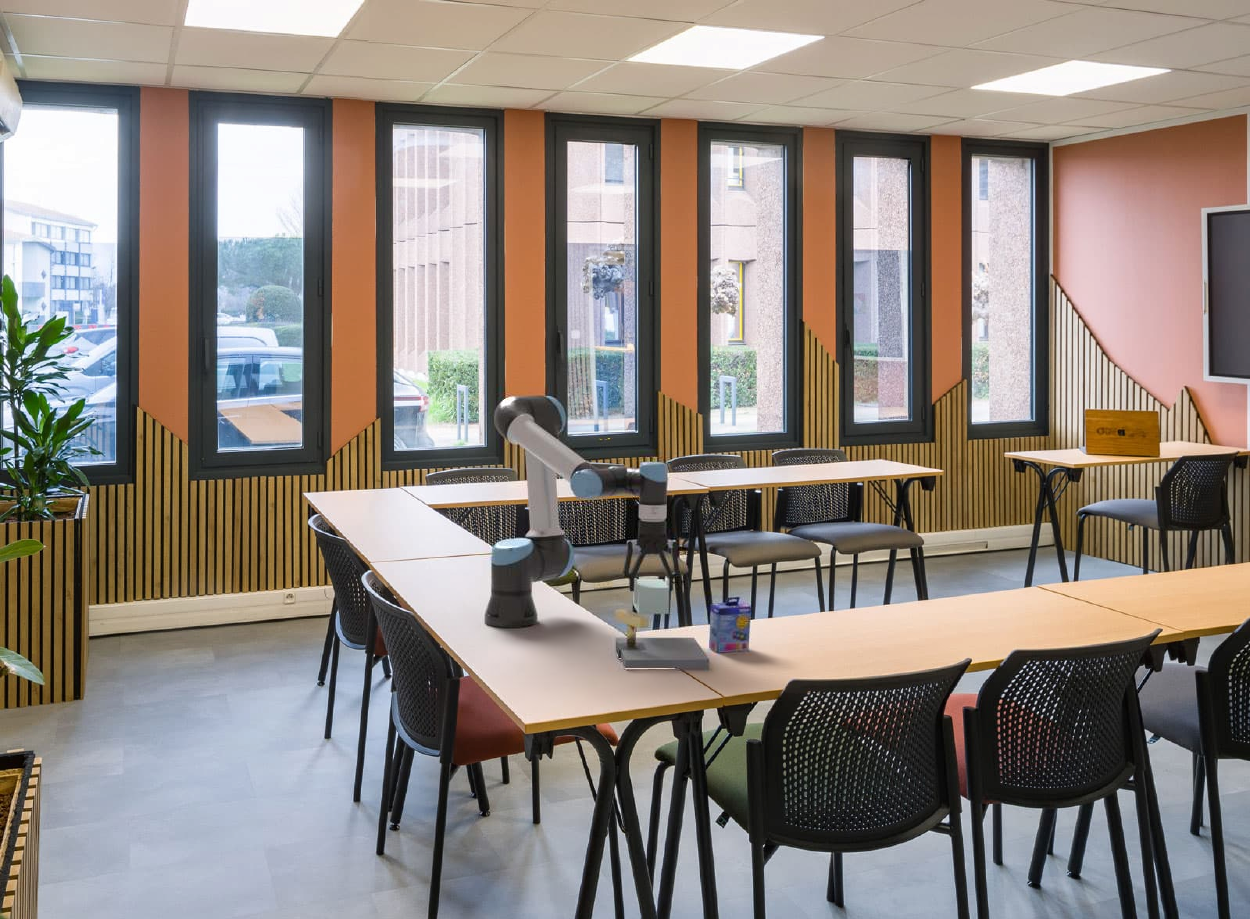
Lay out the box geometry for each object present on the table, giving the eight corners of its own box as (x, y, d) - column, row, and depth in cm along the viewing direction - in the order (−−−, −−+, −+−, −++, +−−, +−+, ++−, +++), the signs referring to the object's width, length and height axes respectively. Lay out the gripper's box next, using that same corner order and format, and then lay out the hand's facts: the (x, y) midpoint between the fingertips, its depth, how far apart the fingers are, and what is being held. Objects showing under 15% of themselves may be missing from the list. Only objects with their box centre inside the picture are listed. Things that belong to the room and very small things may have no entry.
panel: (613, 647, 309) (613, 637, 308) (693, 646, 311) (693, 637, 311) (623, 670, 287) (623, 659, 287) (709, 669, 289) (709, 659, 289)
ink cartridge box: (717, 653, 305) (719, 599, 303) (707, 648, 310) (709, 594, 308) (750, 650, 309) (752, 596, 307) (740, 645, 314) (742, 592, 312)
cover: (633, 604, 321) (633, 579, 321) (661, 604, 322) (662, 579, 322) (638, 614, 309) (639, 588, 309) (668, 613, 310) (669, 587, 310)
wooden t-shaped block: (639, 650, 295) (640, 618, 294) (614, 640, 304) (615, 610, 303) (647, 648, 296) (648, 617, 295) (622, 639, 305) (623, 608, 304)
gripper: (615, 521, 309) (613, 606, 311) (693, 521, 311) (691, 605, 313) (612, 517, 316) (611, 600, 318) (688, 517, 319) (686, 599, 321)
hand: (650, 602), depth 316 cm, fingers closed on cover, 8 cm apart
